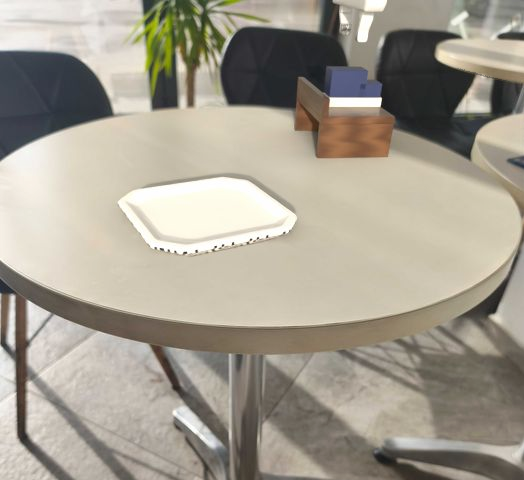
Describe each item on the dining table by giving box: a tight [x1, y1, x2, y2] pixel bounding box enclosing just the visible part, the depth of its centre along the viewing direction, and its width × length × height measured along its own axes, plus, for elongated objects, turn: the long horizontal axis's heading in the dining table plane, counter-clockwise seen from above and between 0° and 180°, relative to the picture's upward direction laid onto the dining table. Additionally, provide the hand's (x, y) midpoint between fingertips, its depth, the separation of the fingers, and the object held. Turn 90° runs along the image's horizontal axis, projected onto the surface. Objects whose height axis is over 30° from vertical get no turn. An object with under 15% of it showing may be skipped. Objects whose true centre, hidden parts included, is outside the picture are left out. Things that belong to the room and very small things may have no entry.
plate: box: [117, 176, 298, 257], centre depth 68 cm, size 21×21×2 cm
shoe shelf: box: [293, 76, 396, 159], centre depth 99 cm, size 14×20×10 cm
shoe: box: [323, 65, 383, 107], centre depth 95 cm, size 11×5×6 cm, turn 100°
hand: (352, 38), depth 90 cm, fingers open, 8 cm apart
